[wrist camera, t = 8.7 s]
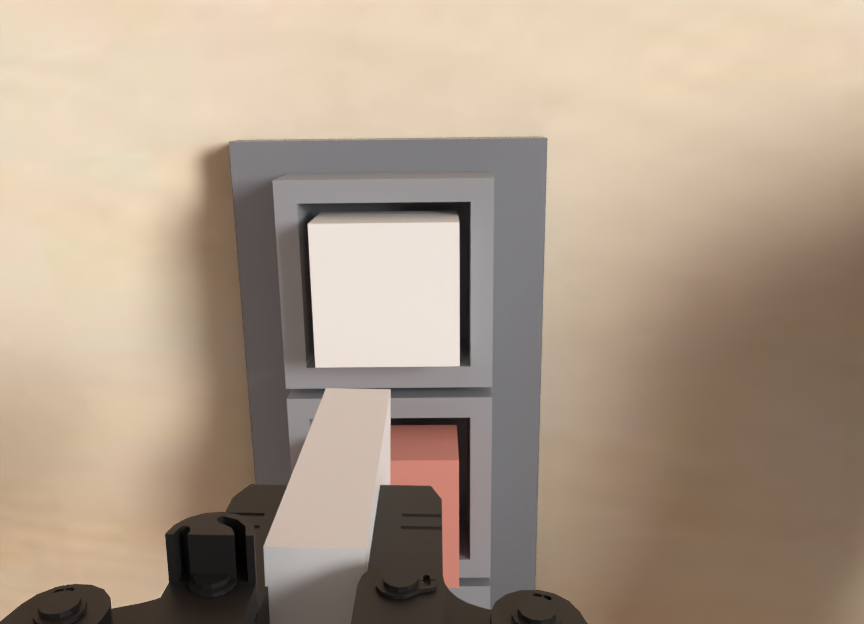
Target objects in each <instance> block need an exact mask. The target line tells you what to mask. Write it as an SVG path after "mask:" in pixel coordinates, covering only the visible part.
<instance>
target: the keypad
mask: <svg viewBox="0 0 864 624" xmlns="http://www.w3.org/2000/svg"><path fill="white" fill-rule="evenodd" d="M229 152H230V164H231V177H232V190H233V202H234V215H235V228H236V240H237V253H238V265H239V278H240V291H241V303H242V316H243V329H244V341H245V354H246V366H247V379H248V392H249V404H250V417H251V430H252V442H253V455H254V468H255V480H256V485H288V483H289V480H290V478H291V475H292V473H293V470H294V468H295V465H296V463H297V460H298V458H299V455H300V453H301V450H302V447H303V445H304V442H305V440H306V437H307V435H308V432H309V430H310V427H311V425H312V422H313V420H314V417H315V415H316V412H317V409H318V407H319V404H320V402H321V399H322V397H323V394H324V392H325V389H326V388H347V389H391V425H457V437H458V453H459V588H448V589H449V590H450V591H451V592H452V593H453V594H454V595H455V596H456V597H458V598H459V599H461V600H463V601H465V602H467V603H469V604H472V605H475V606H478V607H482V608H486V609H490V610H492V608H493V606H494V603H495V602H496V601H497V600H499V599H500V598H501V597H503V596H504V595H506V594H509V593H512V592H516V591H519V590H535V573H536V536H537V499H538V462H539V425H540V389H541V352H542V315H543V278H544V241H545V205H546V168H547V138H545V137H467V138H381V139H295V140H237V141H230V142H229ZM366 211H457V213H458V218H459V251H460V366H448V367H337V368H315V352H314V333H313V315H312V296H311V278H310V260H309V241H308V223H309V222H310V221H311V220H313V219H314V218H315V217H316V216H317V215H318V214H319V213H320V212H366Z"/></svg>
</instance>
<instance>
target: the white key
mask: <svg viewBox="0 0 864 624" xmlns="http://www.w3.org/2000/svg"><path fill="white" fill-rule="evenodd" d="M308 241H309V260H310V278H311V296H312V315H313V333H314V352H315V368H337V367H448V366H460V251H459V218H458V213H457V211H366V212H320V213H319V214H318V215H317V216H316V217H315V218H314V219H313V220H311V221H310V222H309V223H308Z"/></svg>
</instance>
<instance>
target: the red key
mask: <svg viewBox="0 0 864 624" xmlns="http://www.w3.org/2000/svg"><path fill="white" fill-rule="evenodd" d="M390 485H416V486H432V488H433V489H434V490H435V491H436V493H437V494H438V495H439V496H440V498H441V499H442V553H443V578H444V583H445V584H446V586H447V587H448V588H459V453H458V437H457V425H391V426H390Z"/></svg>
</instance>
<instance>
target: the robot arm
mask: <svg viewBox="0 0 864 624" xmlns="http://www.w3.org/2000/svg"><path fill="white" fill-rule="evenodd" d="M390 426H391V389H347V388H326V389H325V392H324V394H323V397H322V399H321V402H320V404H319V407H318V409H317V412H316V415H315V417H314V420H313V422H312V425H311V427H310V430H309V432H308V435H307V437H306V440H305V442H304V445H303V447H302V450H301V453H300V455H299V458H298V460H297V463H296V465H295V468H294V470H293V473H292V475H291V478H290V480H289V483H288V485H254V484H251V485H249V486H248V487H247V488H245V489H244V490H242V491H241V492H240V493H238V494H237V495H236V496H234V497H233V499H232V501H231V503H230V504H229V506H228V508H227V510H226V512H215V513H204V514H200V515H197V516H193V517H190V518H187V519H185V520H183V521H181V522H179V523H177V524H175V525H174V526H173V527H172V528H171V529H170V530H169V531H168V532H167V533H166V534H165V537H166V549H167V561H168V573H169V584H168V586H167V587H166V589H165V591H164V593H163V594H162V596H161V598H158V599H156V600H152V601H148V602H144V603H140V604H135V605H129V606H124V607H119V608H113V609H111V601H110V597H109V596H108V594H107V593H106V592H105V590H104V589H101V588H98V587H96V586H93V585H83V584H73V585H66V586H59V587H55V588H53V589H50V590H48V591H45V592H42V593H40V594H37V595H36V596H34V597H32V598H31V599H29V600H28V601H26V602H24V603H23V604H21V605H20V606H19V607H18V608H16V609H15V610H14V611H13V612H11V613H10V614H9V615H8V616H7V617H5V618H4V619H3V620H2V621H0V624H587V622H586V621H585V619H584V618H583V616H582V615H581V613H580V612H579V611H578V610H577V609H576V608H575V607H574V606H573V605H572V604H571V603H570V602H569V601H567V600H565V599H564V598H562V597H560V596H558V595H556V594H553V593H549V592H544V591H540V590H519V591H516V592H512V593H509V594H506V595H504V596H503V597H501V598H500V599H499V600H497V601H496V602H495V603H494V606H493V608H492V610H490V609H486V608H482V607H478V606H475V605H472V604H469V603H467V602H465V601H463V600H461V599H459V598H458V597H456V596H455V595H454V594H453V593H452V592H451V591H450V590H449V589H448V587H447V586H446V584H445V583H444V578H443V553H442V499H441V498H440V496H439V495H438V494H437V493H436V491H435V490H434V489H433V488H432V486H416V485H390Z"/></svg>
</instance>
